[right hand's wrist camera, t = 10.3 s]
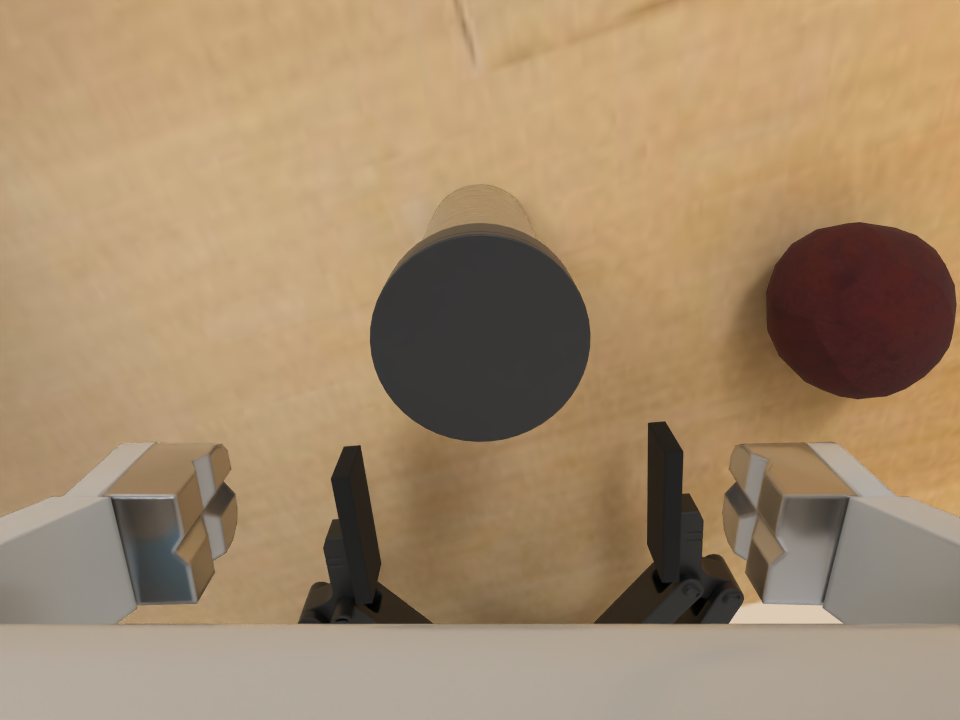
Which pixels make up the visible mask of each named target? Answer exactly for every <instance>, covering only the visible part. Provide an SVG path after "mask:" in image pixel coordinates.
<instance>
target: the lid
mask: <svg viewBox="0 0 960 720" xmlns="http://www.w3.org/2000/svg"><path fill="white" fill-rule="evenodd" d="M370 346H371V355H372V359H373V363H374V367H375V370H376V372H377V375H378V377H379V380H380V382H381V384H382V385H383V387H384V389H385V391H386V392H387V394H388V395H389V396H390V398H391V399H392V400H393V402H394V403H395V404H396V405H397V406H398V407H399V408H400V409H401V410H402V411H403V412H404V413H405V414H406V415H407V416H409V417H410V418H411V419H412V420H414V421H415V422H417V423H418V424H420V425H421V426H423V427H425V428H427V429H429V430H431V431H433V432H435V433H437V434H440V435H443V436H446V437H449V438H454V439H459V440H464V441H475V442H483V441H496V440H502V439H507V438H510V437H514V436H518V435H520V434H522V433H525V432H527V431H530V430H532V429H533V428H535V427H537V426H539V425H541V424H542V423H544V422H545V421H546V420H548V419H549V418H551V417H552V416H553V415H554V414H555V413H556V412H557V411H558V410H560V409H561V408H562V407H563V406H564V404H565V403H566V402H567V401H568V399H569V398H570V397H571V396H572V394H573V393H574V391H575V389H576V388H577V386H578V384H579V382H580V380H581V378H582V376H583V374H584V371H585V368H586V364H587V361H588V356H589V350H590V326H589V319H588V315H587V311H586V307H585V304H584V302H583V300H582V297H581V295H580V293H579V291H578V289H577V287H576V285H575V283H574V282H573V280H572V278H571V276H570V275H569V273H568V271H567V270H566V268H565V266H564V265H563V264H562V262H561V261H560V260H559V259H558V257H557V256H556V255H555V254H554V253H553V252H552V251H551V250H550V249H548V248H547V247H546V246H545V245H544V244H542V243H541V242H539V241H538V240H537V239H535V238H533V237H531V236H529V235H528V234H526V233H524V232H521V231H519V230H516V229H513V228H511V227H506V226H502V225H498V224H488V223H471V224H464V225H458V226H453V227H450V228H447V229H444V230H441V231H439V232H437V233H435V234H433V235H430V236H429V237H427V238H425V239H424V240H422V241H421V242H419V243H418V244H417V245H415V246H414V247H413V248H412V249H411V250H410V251H408V252H407V253H406V255H405V256H404V257H403V258H402V259H401V260H400V261H399V263H398V264H397V265H396V267H395V268H394V270H393V271H392V273H391V275H390V277H389V278H388V280H387V282H386V284H385V286H384V288H383V290H382V292H381V294H380V296H379V298H378V300H377V302H376V306H375V309H374V312H373V316H372V321H371V327H370Z"/></svg>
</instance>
